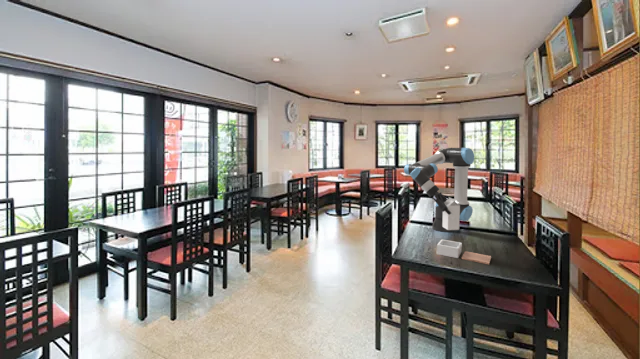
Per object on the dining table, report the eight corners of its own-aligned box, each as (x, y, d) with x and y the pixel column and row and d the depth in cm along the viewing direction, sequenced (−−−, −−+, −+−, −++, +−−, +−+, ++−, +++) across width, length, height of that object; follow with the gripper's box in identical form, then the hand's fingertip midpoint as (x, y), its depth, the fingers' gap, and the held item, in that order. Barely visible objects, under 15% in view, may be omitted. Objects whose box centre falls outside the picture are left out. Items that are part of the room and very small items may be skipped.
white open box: (441, 248, 185) (441, 239, 184) (461, 252, 178) (461, 242, 177) (436, 253, 175) (436, 244, 175) (457, 258, 168) (458, 248, 168)
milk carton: (453, 226, 179) (454, 196, 176) (459, 229, 172) (460, 199, 169) (442, 226, 178) (442, 197, 176) (447, 230, 171) (448, 199, 169)
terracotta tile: (464, 252, 177) (465, 251, 177) (491, 257, 169) (491, 256, 169) (461, 259, 167) (461, 257, 167) (489, 264, 159) (489, 262, 159)
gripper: (430, 189, 190) (455, 216, 183) (420, 194, 172) (447, 224, 165) (439, 182, 187) (464, 209, 179) (430, 186, 168) (457, 216, 161)
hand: (456, 216), depth 172 cm, fingers closed on milk carton, 10 cm apart
